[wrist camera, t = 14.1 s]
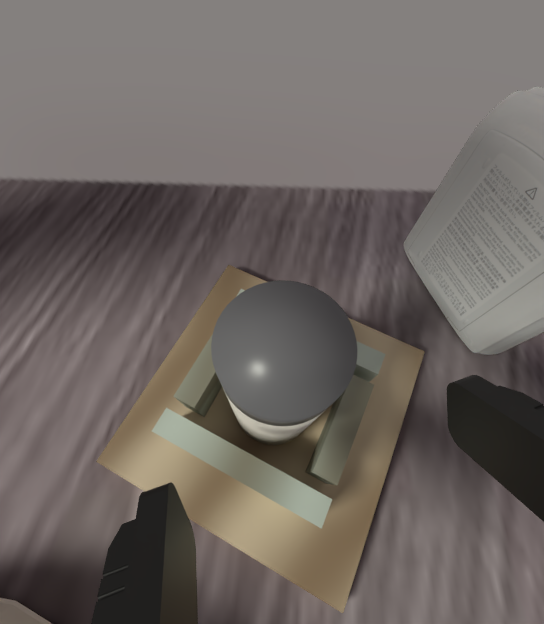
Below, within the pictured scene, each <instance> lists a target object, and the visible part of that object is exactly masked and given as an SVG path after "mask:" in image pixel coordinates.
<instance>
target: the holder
mask: <svg viewBox="0 0 544 624" xmlns="http://www.w3.org/2000/svg"><path fill="white" fill-rule="evenodd" d="M262 283H266V281H264V280H262V279H260V278H257V277H255V276H253V275H251V274H248V273H246V272H244V271H242V270H239V269H237V268H235V267H233V266H230V265H228V266H227V268H226V269H225V271H224V272H223V274H222V275H221V277H220V278H219V280H218V281H217V283H216V284H215V286H214V287H213V289H212V290H211V292H210V293H209V295H208V296H207V298H206V299H205V301H204V302H203V304H202V305H201V307H200V308H199V310H198V311H197V313H196V314H195V316H194V317H193V319H192V320H191V321H190V323H189V324H188V326H187V327H186V329H185V330H184V332H183V333H182V335H181V336H180V338H179V339H178V341H177V342H176V344H175V345H174V347H173V348H172V350H171V351H170V353H169V354H168V356H167V357H166V359H165V360H164V362H163V363H162V365H161V366H160V368H159V369H158V371H157V372H156V373H155V375H154V376H153V378H152V379H151V381H150V382H149V384H148V385H147V387H146V388H145V390H144V391H143V393H142V394H141V396H140V397H139V399H138V400H137V402H136V403H135V405H134V406H133V408H132V409H131V411H130V412H129V414H128V415H127V417H126V418H125V420H124V421H123V423H122V424H121V425H120V427H119V428H118V430H117V431H116V433H115V434H114V436H113V437H112V439H111V440H110V442H109V443H108V445H107V446H106V448H105V449H104V451H103V452H102V454H101V455H100V457H99V458H98V460H97V461H96V462H98V463H99V464H101V465H103V466H104V467H106V468H108V469H109V470H111V471H112V472H114V473H116V474H117V475H119V476H121V477H122V478H124V479H125V480H127V481H129V482H130V483H132V484H134V485H135V486H137V487H138V488H140V489H142V490H143V491H148V490H151V489H153V488H156V487H159V486H162V485H165V484H167V483H170V482H172V483H173V484H174V486H175V488H176V490H177V492H178V495H179V497H180V499H181V502H182V504H183V506H184V509H185V511H186V514H187V516H188V518H189V519H190V520H192V521H194V522H195V523H197V524H199V525H200V526H202V527H203V528H205V529H207V530H208V531H210V532H212V533H213V534H215V535H216V536H218V537H220V538H221V539H223V540H225V541H226V542H228V543H229V544H231V545H233V546H234V547H236V548H238V549H239V550H241V551H242V552H244V553H246V554H247V555H249V556H251V557H252V558H254V559H255V560H257V561H259V562H260V563H262V564H264V565H265V566H267V567H268V568H270V569H272V570H273V571H275V572H276V573H278V574H280V575H281V576H283V577H285V578H286V579H288V580H289V581H291V582H293V583H294V584H296V585H298V586H299V587H301V588H302V589H304V590H306V591H307V592H309V593H311V594H312V595H314V596H315V597H317V598H319V599H320V600H322V601H324V602H325V603H327V604H328V605H330V606H332V607H333V608H335V609H337V610H338V611H340V612H341V613H343V612H344V609H345V606H346V602H347V599H348V596H349V593H350V590H351V586H352V583H353V580H354V577H355V574H356V570H357V567H358V564H359V561H360V557H361V554H362V551H363V548H364V545H365V541H366V538H367V535H368V532H369V529H370V525H371V522H372V519H373V516H374V513H375V509H376V506H377V503H378V500H379V497H380V493H381V490H382V487H383V484H384V481H385V477H386V474H387V471H388V468H389V465H390V461H391V458H392V455H393V452H394V449H395V445H396V442H397V439H398V436H399V432H400V429H401V426H402V423H403V420H404V416H405V413H406V410H407V407H408V404H409V400H410V397H411V394H412V391H413V388H414V384H415V381H416V378H417V375H418V372H419V368H420V365H421V362H422V359H423V356H424V351H422V350H420V349H418V348H415V347H413V346H411V345H409V344H406V343H404V342H402V341H400V340H397V339H395V338H393V337H391V336H388V335H386V334H384V333H382V332H379V331H377V330H375V329H373V328H370V327H368V326H366V325H363V324H361V323H359V322H357V321H354V320H352V319H350V318H348V319H349V320H350V322H351V324H352V327H353V330H354V332H355V336H356V341H357V362H356V368H355V371H354V374H353V377H352V379H351V381H350V383H349V385H348V386H347V388H346V389H345V391H344V392H343V393H342V395H341V396H340V397H339V398H338V399H337V400H336V401H335V402H334V403H333V404H332V405H331V406H329V407H328V408H327V409H326V410H325V411H324V412H323V413H322V414H321V415H320V416H319V417H318V418H317V419H316V420H314V421H313V422H312V423H311V424H310V425H309V426H308V427H307V428H306V429H305V430H304V431H303V432H302V433H301V434H299V435H298V436H297V437H296V438H294V439H293V440H291V441H289V442H287V443H284V444H279V445H267V444H263V443H260V442H258V441H255V440H254V439H252V438H251V437H249V436H248V435H247V434H246V433H245V432H244V431H243V429H242V428H241V426H240V424H239V422H238V420H237V418H236V416H235V414H234V412H233V409H232V407H231V405H230V403H229V401H228V398H227V396H226V394H225V392H224V390H223V387H222V385H221V383H220V381H219V379H218V376H217V374H216V371H215V368H214V365H213V361H212V355H211V343H212V335H213V331H214V328H215V325H216V322H217V320H218V318H219V316H220V315H221V313H222V311H223V310H224V309H225V307H226V306H227V305H228V304H229V303H230V302H231V301H232V300H233V299H234V298H235V297H236V296H238V295H239V294H240V293H242V292H243V291H245V290H247V289H249V288H251V287H253V286H255V285H258V284H262Z"/></svg>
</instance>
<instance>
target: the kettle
mask: <svg viewBox="0 0 544 624" xmlns="http://www.w3.org/2000/svg"><path fill="white" fill-rule="evenodd" d="M0 624H52V623H50V622H49V621H47V620H46V619H44V618H42V617H41V616H39V615H38V614H36V613H35V612H33V611H31V610H30V609H28V608H27V607H25V606H23V605H22V604H20V603H19V602H17V601H15V600H9V599H4V598H0Z"/></svg>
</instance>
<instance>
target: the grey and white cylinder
mask: <svg viewBox="0 0 544 624" xmlns="http://www.w3.org/2000/svg"><path fill="white" fill-rule="evenodd" d="M211 355H212V361H213V365H214V368H215V371H216V374H217V376H218V379H219V381H220V383H221V385H222V387H223V390H224V392H225V394H226V396H227V398H228V401H229V403H230V405H231V407H232V409H233V412H234V414H235V416H236V418H237V420H238V422H239V424H240V426H241V428H242V429H243V431H244V432H245V433H246V434H247V435H248V436H249V437H251V438H252V439H254V440H255V441H258V442H260V443H263V444H267V445H279V444H284V443H287V442H289V441H291V440H293V439H294V438H296V437H297V436H298V435H299V434H301V433H302V432H303V431H304V430H305V429H306V428H307V427H308V426H309V425H310V424H311V423H312V422H313V421H314V420H316V419H317V418H318V417H319V416H320V415H321V414H322V413H323V412H324V411H325V410H326V409H327V408H328V407H329V406H331V405H332V404H333V403H334V402H335V401H336V400H337V399H338V398H339V397H340V396H341V395H342V393H343V392H344V391H345V389H346V388H347V386H348V385H349V383H350V381H351V379H352V377H353V374H354V371H355V368H356V362H357V341H356V336H355V332H354V330H353V327H352V324H351V322H350V320H349V319H348V317H347V315H346V314H345V312H344V311H343V309H342V308H341V307H340V306H339V305H338V304H337V303H336V302H335V301H334V300H333V299H332V298H331V297H329V296H328V295H326V294H325V293H324V292H322V291H320V290H318V289H316V288H314V287H312V286H309V285H307V284H303V283H299V282H294V281H271V282H266V283H262V284H258V285H255V286H253V287H251V288H249V289H247V290H245V291H243V292H242V293H240V294H239V295H238V296H236V297H235V298H234V299H233V300H232V301H231V302H230V303H229V304H228V305H227V306H226V307H225V309H224V310H223V311H222V313H221V315H220V316H219V318H218V320H217V322H216V325H215V328H214V331H213V335H212V343H211Z"/></svg>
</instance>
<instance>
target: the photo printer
mask: <svg viewBox="0 0 544 624" xmlns="http://www.w3.org/2000/svg"><path fill="white" fill-rule="evenodd" d="M404 250H405V252H406V255H407V257H408V259H409V261H410V262H411V264H412V266H413V267H414V269H415V270H416V272H417V274H418V275H419V277H420V278H421V280H422V281H423V283H424V285H425V286H426V288H427V289H428V291H429V292H430V294H431V296H432V297H433V299H434V300H435V302H436V303H437V305H438V306H439V308H440V309H441V311H442V312H443V314H444V315H445V317H446V318H447V320H448V322H449V323H450V324H451V326H452V327H453V329H454V330H455V332H456V333H457V334H458V336H459V337H460V339H461V340H462V341H463V342H464V344H465V345H466V346H467V347H468V348H469V349H470V350H471V351H472V352H473V353H480V354H485V355H494V354H499V353H502V352H504V351H506V350H508V349H510V348H512V347H514V346H516V345H518V344H520V343H522V342H525V341H527V340H529V339H531V338H533V337H535V336H537V335H539V334H541V333H543V332H544V88H541V87H534V88H532V89H530V90H528V91H515V92H514V93H512V94H511V95H510V96H508V97H507V98H505V99H504V100H503V101H501V102H500V103H499V104H498V105H497V106H496V107H495V108H494V109H492V111H491V112H489V114H487V115H486V117H485V118H484V119H483V120H482V121H481V122H480V123H479V125H478V126H477V127H476V128H475V130H474V131H473V133H472V134H471V136H470V137H469V139H468V140H467V142H466V144H465V145H464V147H463V148H462V150H461V152H460V153H459V155H458V156H457V158H456V160H455V161H454V163H453V165H452V166H451V168H450V169H449V171H448V173H447V174H446V176H445V177H444V179H443V181H442V182H441V184H440V185H439V187H438V189H437V190H436V192H435V193H434V195H433V196H432V198H431V200H430V201H429V203H428V204H427V206H426V208H425V209H424V211H423V212H422V214H421V216H420V217H419V219H418V220H417V222H416V223H415V225H414V227H413V228H412V230H411V231H410V233H409V235H408V236H407V238H406V240H405V242H404Z"/></svg>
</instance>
